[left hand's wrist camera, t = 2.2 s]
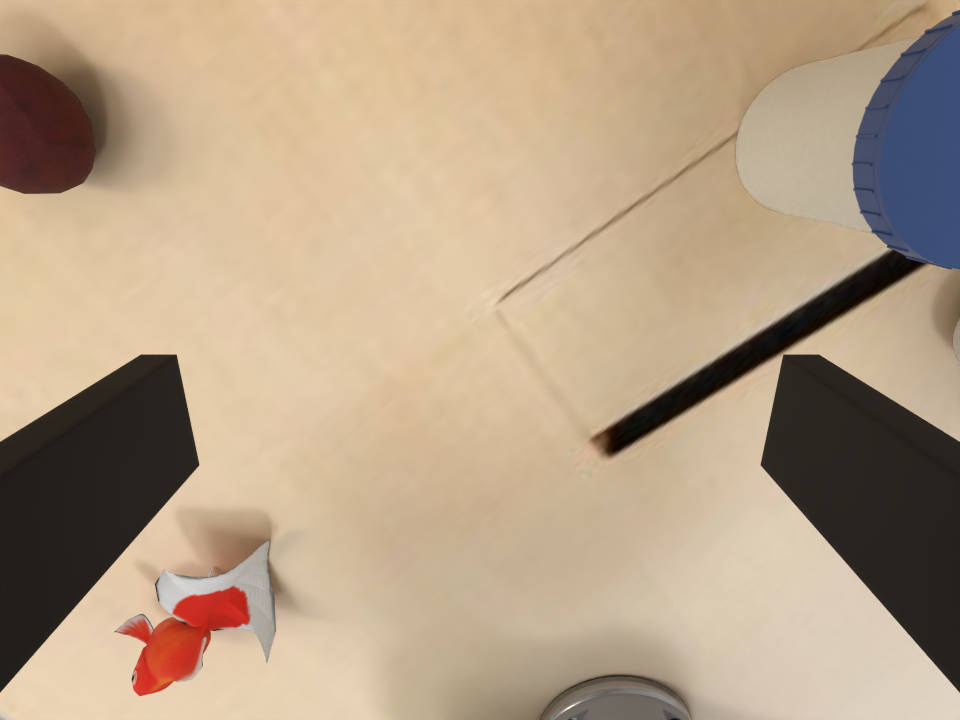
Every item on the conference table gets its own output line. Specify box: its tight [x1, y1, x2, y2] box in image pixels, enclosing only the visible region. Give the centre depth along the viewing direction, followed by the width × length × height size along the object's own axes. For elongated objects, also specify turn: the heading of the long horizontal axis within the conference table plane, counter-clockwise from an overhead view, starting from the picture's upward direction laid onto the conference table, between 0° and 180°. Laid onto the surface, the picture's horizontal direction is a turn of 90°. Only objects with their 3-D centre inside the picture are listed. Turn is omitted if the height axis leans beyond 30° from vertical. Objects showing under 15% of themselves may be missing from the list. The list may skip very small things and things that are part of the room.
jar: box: [736, 35, 922, 234], centre depth 30 cm, size 9×9×15 cm
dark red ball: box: [0, 54, 95, 194], centre depth 33 cm, size 7×8×7 cm
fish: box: [115, 540, 276, 696], centre depth 46 cm, size 11×16×10 cm
